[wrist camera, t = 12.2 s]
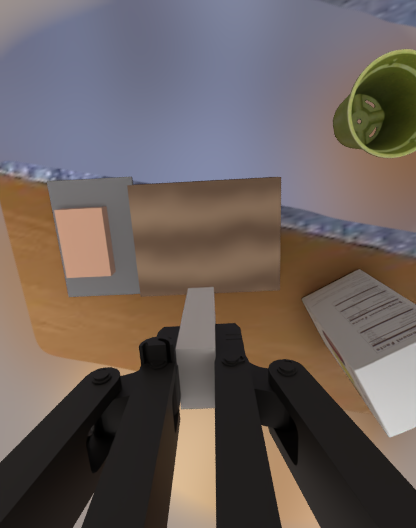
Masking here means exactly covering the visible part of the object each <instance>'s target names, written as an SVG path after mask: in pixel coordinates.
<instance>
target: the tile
mask: <svg viewBox="0 0 416 528" xmlns="http://www.w3.org/2000/svg"><path fill="white" fill-rule="evenodd" d="M54 212H55V218H56V223H57V229H58V234H59V239H60V245H61V250H62V255H63V261H64V266H65V271H66V277H67V278H78V277H100V276H112V275H113V274H114V273H115V272H116V270H115V263H114V256H113V249H112V242H111V234H110V227H109V220H108V213H107V206H103V207H83V208H63V209H57V210H54Z"/></svg>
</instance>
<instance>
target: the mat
mask: <svg viewBox="0 0 416 528" xmlns="http://www.w3.org/2000/svg"><path fill="white" fill-rule="evenodd" d="M47 185H48V190H49V195H50V201H51V206H52V211H53V216H54V222H55V227H56V232H57V237H58V243H59V248H60V253H61V258H62V264H63V269H64V274H65V280H66V285H67V290H68V295H69V297H79V296H100V295H122V294H140V287H139V279H138V271H137V262H136V254H135V246H134V238H133V229H132V221H131V213H130V205H129V197H128V188H127V185H133V180H132V177H118V178H100V179H82V180H64V181H47ZM103 206H107V213H108V220H109V227H110V234H111V242H112V249H113V256H114V263H115V270H116V272H115V273H114V274H113V275H112V276H100V277H78V278H67V277H66V271H65V266H64V261H63V255H62V250H61V245H60V239H59V234H58V229H57V223H56V218H55V212H54V210H57V209H63V208H83V207H103Z"/></svg>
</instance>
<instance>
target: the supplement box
mask: <svg viewBox="0 0 416 528" xmlns="http://www.w3.org/2000/svg"><path fill="white" fill-rule="evenodd" d="M302 301H303V303H304V305H305V307H306V309H307V311H308V313H309V315H310V317H311V318H312V320H313V322H314V324H315V326H316V328H317V330H318V332H319V333H320V335H321V337H322V339H323V341H324V343H325V344H326V346H327V347H328V349H329V350H330V352H331V353H332V354H333V356H334V357H335V359H336V360H337V362H338V363H339V365H340V366H341V368H342V369H343V371H344V372H345V374H346V375H347V377H348V378H349V380H350V381H351V382H352V384H353V385H354V387H355V388H356V390H357V391H358V393H359V394H360V396H361V397H362V399H363V400H364V402H365V403H366V405H367V406H368V407H369V409H370V410H371V412H372V413H373V415H374V416H375V417H376V419H377V421H378V422H379V424H380V425H381V427H382V428H383V430H384V431H385V433H386V434H387V435H388V437H392V436H395V435H398V434H401V433H403V432H406V431H408V430H410V429H413V428H415V427H416V304H414V303H413V302H411V301H409V300H408V299H406V298H404V297H403V296H401V295H400V294H398V293H397V292H395V291H393V290H392V289H390V288H389V287H387V286H386V285H384V284H382V283H381V282H379V281H378V280H376V279H374V278H373V277H371V276H370V275H368V274H367V273H365V272H363V271H362V270H360V269H358V270H356V271H354V272H352V273H350V274H348V275H347V276H345V277H343V278H341V279H339V280H337V281H335V282H333V283H331V284H329V285H327V286H325V287H323V288H321V289H319V290H317V291H315V292H314V293H312V294H310V295H308V296H306V297H304V298H302Z"/></svg>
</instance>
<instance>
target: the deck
mask: <svg viewBox="0 0 416 528" xmlns="http://www.w3.org/2000/svg"><path fill="white" fill-rule="evenodd" d="M127 188H128V197H129V205H130V213H131V221H132V229H133V238H134V246H135V254H136V262H137V271H138V279H139V287H140V295H141V297H142V296H164V295H186V294H187V291H188V288H205V287H214V293H230V292H252V291H273V290H280V233H281V177H266V178H250V179H249V178H248V179H229V180H211V181H193V182H176V183H159V184H158V183H156V184H138V185H127Z"/></svg>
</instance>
